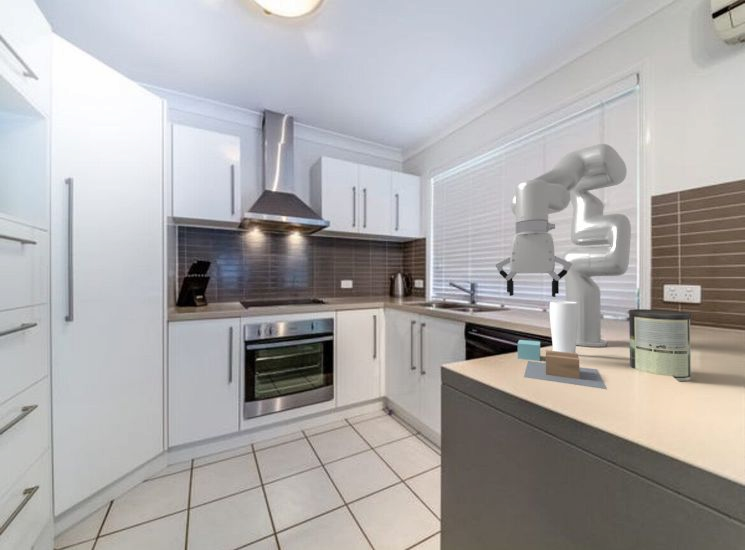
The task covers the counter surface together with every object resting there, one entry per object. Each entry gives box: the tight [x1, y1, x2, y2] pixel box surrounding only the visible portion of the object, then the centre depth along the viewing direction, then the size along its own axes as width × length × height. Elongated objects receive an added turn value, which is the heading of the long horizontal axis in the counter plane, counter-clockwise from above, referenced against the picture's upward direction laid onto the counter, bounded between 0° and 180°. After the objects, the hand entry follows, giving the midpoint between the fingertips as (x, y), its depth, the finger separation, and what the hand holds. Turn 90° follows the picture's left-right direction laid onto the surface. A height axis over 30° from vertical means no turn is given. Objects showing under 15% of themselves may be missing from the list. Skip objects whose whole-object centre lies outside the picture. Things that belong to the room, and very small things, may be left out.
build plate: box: [523, 360, 608, 390], centre depth 67 cm, size 14×14×1 cm
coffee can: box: [628, 308, 692, 382], centre depth 69 cm, size 10×10×14 cm
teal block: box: [517, 339, 541, 362], centre depth 80 cm, size 5×5×5 cm
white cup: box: [549, 300, 578, 353], centre depth 84 cm, size 7×7×15 cm
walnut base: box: [545, 349, 580, 379], centre depth 67 cm, size 6×6×4 cm
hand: (531, 296), depth 78 cm, fingers open, 9 cm apart
